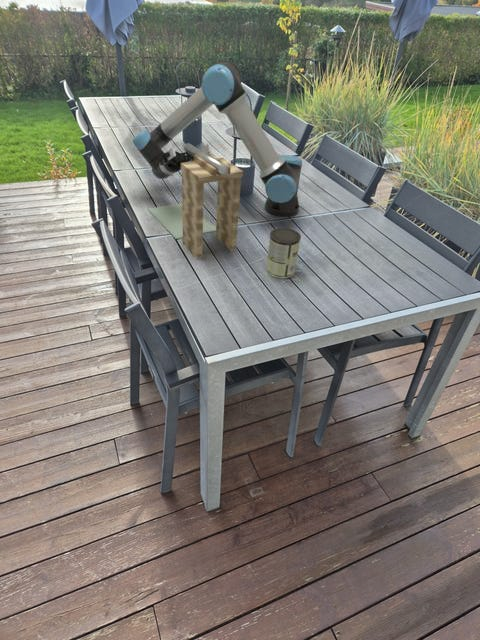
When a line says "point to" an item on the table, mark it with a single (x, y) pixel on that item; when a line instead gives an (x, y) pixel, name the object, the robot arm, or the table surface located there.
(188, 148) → the steel rod
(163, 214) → the sage mat
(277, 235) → the coffee can
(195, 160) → the oak bridge
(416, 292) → the table surface
